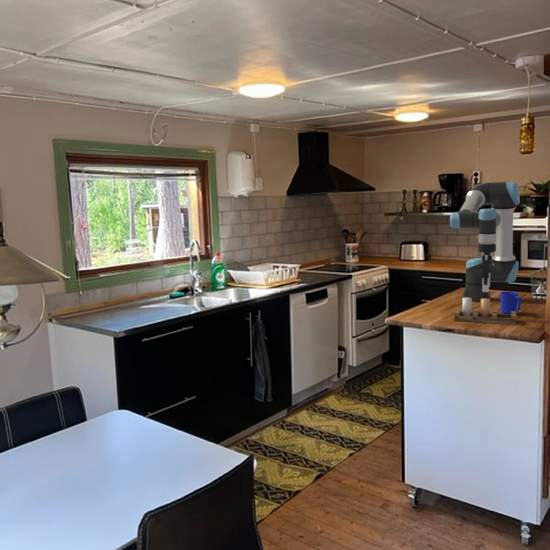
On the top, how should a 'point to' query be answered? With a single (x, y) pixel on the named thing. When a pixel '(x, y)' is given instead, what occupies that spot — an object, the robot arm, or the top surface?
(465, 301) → the plug grey
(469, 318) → the comb rack
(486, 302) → the plug terracotta
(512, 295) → the mug
